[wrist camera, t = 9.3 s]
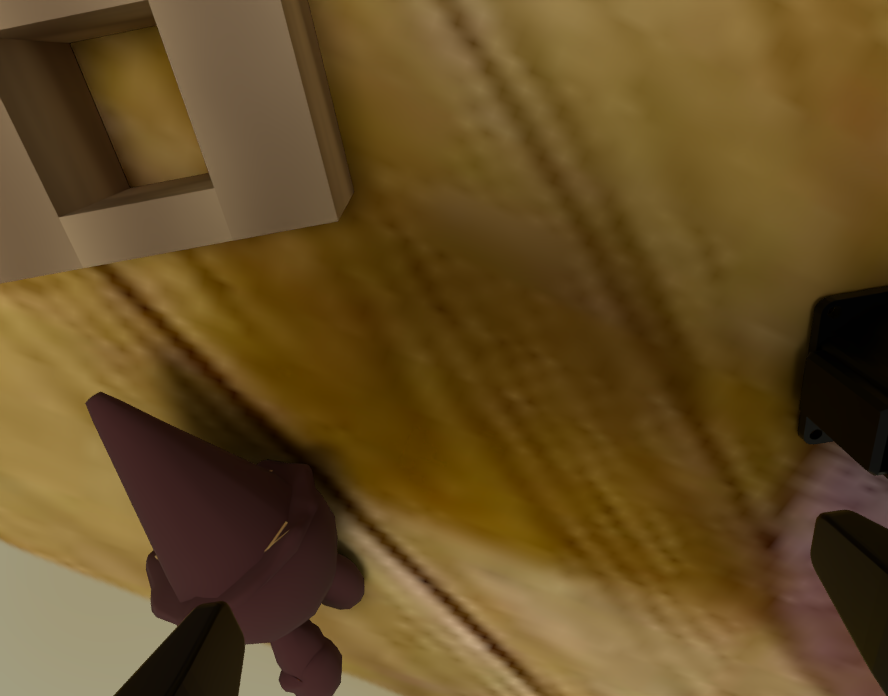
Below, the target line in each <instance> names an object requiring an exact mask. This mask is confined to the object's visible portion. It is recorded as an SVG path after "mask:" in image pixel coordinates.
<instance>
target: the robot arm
mask: <svg viewBox="0 0 888 696" xmlns="http://www.w3.org/2000/svg"><path fill="white" fill-rule="evenodd" d="M833 307H835V308H834V311H833V312H832V313H830V314H828V312H829V310H830V309H831V308H833ZM814 430H815V431H814ZM812 431H814V432H813V433H811V432H812ZM798 435H799V436H800V437H801V438H802V439H803V440H804V441H805V442H806V443H808V444H820V443H826V442H832V441H834V442H836V443H837V444H838V445H839V446H840V447H841V448H842V449H843V450H844V451H846V452H847V453H848V454H849V455H850V456H851V457H852V458H853V459H854V460H855V461H857V462H858V463H859V464H860V465H861V466H862V467H863V468H864V469H865V470H867V471H868V472H869V473H871V474H872V475H874V476H876V475H884V476H885V477H886V478H888V286H886V287H881V288H875V289H869V290H863V291H857V292H851V293H846V294H840V295H834V296H829V297H826V298H824V299H822V300H821V301H819V303H818V304H817V305H816V307H815V310H814V316H813V323H812V330H811V338H810V345H809V352H808V356H807V358H806V363H805V370H804V378H803V385H802V393H801V400H800V418H799V426H798ZM810 555H811V561H812V564H813V567H814V569H815V571H816V573H817V575H818V577H819V579H820V580H821V582H822V584H823V586H824V588H825V590H826V591H827V593H828V595H829V597H830V599H831V601H832V602H833V604H834V606H835V608H836V610H837V612H838V613H839V615H840V617H841V619H842V621H843V622H844V624H845V626H846V628H847V630H848V632H849V633H850V635H851V637H852V639H853V641H854V643H855V644H856V646H857V648H858V650H859V652H860V654H861V655H862V657H863V659H864V661H865V662H866V664H867V666H868V667H869V669H870V671H871V673H872V674H873V676H874V677H875V679H876V680H877V682H878V683H879V685H880V687H881V688H882V690H883V691H884V693H885V694H886V696H888V529H887V528H885V527H883V526H881V525H879V524H877V523H875V522H873V521H871V520H869V519H867V518H865V517H863V516H862V515H860V514H858V513H855V512H853V511H850V510H839V511H832V512H825V513H821V514H820V515H819V516H818V517H817V519H816V523H815V528H814V534H813V540H812V545H811V553H810ZM244 652H245V639H244V635H243V632H242V630H241V628H240V626H239V624H238V622H237V620H236V618H235V616H234V614H233V612H232V610H231V608H230V606H229V605H228V604H227V603H226V602H224V601H217V602H210V603H204V604H200V605H198V606H197V607H195V608H194V609H193V610H192V611H191V612H190V614H189V615H188V616H187V617H186V618H185V619H184V620H183V621H182V622H181V623H180V624H179V625H178V626H177V628H176V629H175V630H174V631H173V632H172V633H171V634H170V635H169V636H168V637H167V639H166V640H165V641H164V642H163V643H162V644H161V645H160V646H159V647H158V648H157V649H156V650H155V651H154V653H153V654H152V655H151V656H150V657H149V658H148V659H147V660H146V661H145V662H144V663H143V664H142V665H141V667H140V668H139V669H138V670H137V671H136V672H135V673H134V674H133V675H132V676H131V677H130V679H128V681H127V682H126V683H125V684H124V685H123V686H122V687H121V688H120V689H119V690H118V691H117V692H116V694H115V695H114V696H238V693H239V686H240V679H241V672H242V665H243V658H244Z"/></svg>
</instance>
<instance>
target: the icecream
mask: <svg viewBox="0 0 888 696" xmlns="http://www.w3.org/2000/svg"><path fill="white" fill-rule="evenodd" d="M86 406H87V408H88V411H89V413H90V416H91V418H92V421H93V423H94V425H95V427H96V429H97V431H98V433H99V435H100V438H101V440H102V442H103V444H104V446H105V448H106V450H107V452H108V454H109V457H110V459H111V461H112V463H113V465H114V467H115V469H116V471H117V473H118V476H119V478H120V480H121V482H122V484H123V486H124V488H125V490H126V492H127V495H128V497H129V499H130V501H131V503H132V505H133V507H134V509H135V512H136V514H137V516H138V518H139V520H140V522H141V524H142V526H143V528H144V531H145V533H146V535H147V537H148V539H149V541H150V543H151V545H152V548H153V551H152V552H151V553H150V554H149V555H148V557H147V561H146V572H147V575H148V579H149V583H150V587H151V608H152V612H153V613H154V615H155V616H156V617H158V618H160V619H163V620H165V621H168V622H171V623H173V624H176V625H177V626H178V625H179V624H180V623H181V622H182V621H183V620H184V619H185V618H186V617H187V616H188V615H189V614H190V612H191V611H192V610H193V609H194V608H195V607H197V606H198V605H200V604H204V603H210V602H217V601H224V602H226V603H227V604H228V605H229V606H230V608H231V610H232V612H233V614H234V616H235V618H236V620H237V622H238V624H239V626H240V628H241V630H242V632H243V635H244V639H245V645H246V644H257V643H269V642H270V643H271V646H272V649H273V652H274V655H275V658H276V661H277V663H278V665H279V666H280V668H281V669H282V671H281V673H280V677H279V682H280V684H281V687H282V688H283V689H284V690H285V691H286V692H292V693H294V694H295V695H296V696H332V695H333V694H334V693H335V691H336V689H337V688H338V686H339V685H340V683H341V673H342V655H341V653H340V652H339V650H338V648H337V647H336V646H335V645H334V644H333V642H332V641H331V640H329V639H328V638H326V637H324V635H323V634H322V632H321V630H320V628H319V627H318V626H317V625H315V624H313V623H312V622H311V621H310V620H309V619H310V618H311V617H312V616H313V615H315V613H316V612H317V610H318V608H319V606H320V605H321V603H322V604H323V605H326V606H329V607H333V608H336V609H340V610H341V609H350V608H352V607H353V606H355V605H356V604H357V603H358V602H360V601H361V599H362V597H363V595H364V577H363V576H362V574H361V573H360V571H359V570H358V568H357V567H356V565H355V564H354V563H353V562H352V561H350V560H349V559H348V558H347V557H345V556H343V555H341V554H339V553H337V539H338V537H337V530H336V523H335V516H334V514H333V513H332V511H331V509H330V508H329V506H328V505H327V503H326V501H325V500H324V498H323V496H322V495H321V494H320V492H319V491H318V490H317V489H316V488H315V483H314V477H313V472H312V470H311V468H310V466H309V465H307V464H302V463H285V462H280V461H274V460H269V459H267V460H263V461H261V462H259V463H258V464H257V465H256V464H253V463H251V462H249V461H247V460H245V459H243V458H241V457H238V456H236V455H234V454H232V453H230V452H228V451H226V450H223V449H221V448H219V447H217V446H215V445H213V444H211V443H208V442H206V441H204V440H202V439H200V438H198V437H195V436H193V435H191V434H189V433H187V432H185V431H183V430H180V429H178V428H176V427H174V426H172V425H170V424H168V423H165V422H163V421H161V420H159V419H157V418H155V417H153V416H151V415H149V414H147V413H145V412H143V411H141V410H139V409H137V408H135V407H133V406H131V405H129V404H127V403H125V402H123V401H121V400H119V399H116V398H114V397H112V396H109V395H107V394H105V393H103V392H99V393H97V394H95V395H94V396H92V397H91V398H90V399H89V400H88V401H87V402H86Z"/></svg>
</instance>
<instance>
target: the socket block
mask: <svg viewBox="0 0 888 696" xmlns="http://www.w3.org/2000/svg"><path fill="white" fill-rule="evenodd" d="M156 25H157V27H158V30H159V33H160V36H161V38H162V41H163V44H164V47H165V50H166V53H167V55H168V58H169V61H170V64H171V67H172V70H173V72H174V75H175V78H176V81H177V84H178V87H179V89H180V92H181V95H182V98H183V101H184V104H185V106H186V109H187V112H188V115H189V118H190V121H191V124H192V126H193V129H194V132H195V135H196V138H197V141H198V143H199V146H200V149H201V152H202V155H203V158H204V160H205V163H206V166H207V169H208V172H209V173H207V174H202V175H197V176H191V177H186V178H181V179H176V180H170V181H165V182H160V183H155V184H149V185H144V186H139V187H134V188H130V187H129V185H128V182H127V180H126V178H125V175H124V173H123V171H122V168H121V166H120V163H119V161H118V159H117V156H116V154H115V152H114V149H113V147H112V144H111V142H110V140H109V137H108V135H107V132H106V130H105V128H104V125H103V123H102V121H101V118H100V116H99V113H98V111H97V109H96V106H95V104H94V101H93V99H92V97H91V94H90V92H89V90H88V87H87V85H86V82H85V80H84V78H83V75H82V73H81V70H80V68H79V66H78V63H77V61H76V59H75V56H74V54H73V51H72V49H71V47H70V44H69V43H72V42H77V41H82V40H87V39H92V38H97V37H102V36H107V35H111V34H116V33H121V32H126V31H131V30H136V29H141V28H146V27H151V26H156ZM353 193H354V189H353V185H352V181H351V177H350V173H349V168H348V164H347V160H346V156H345V152H344V148H343V144H342V139H341V135H340V131H339V127H338V123H337V119H336V115H335V111H334V106H333V102H332V98H331V94H330V90H329V86H328V82H327V78H326V73H325V69H324V65H323V61H322V57H321V53H320V49H319V45H318V40H317V36H316V32H315V28H314V24H313V20H312V16H311V12H310V7H309V3H308V0H0V283H5V282H11V281H16V280H22V279H27V278H33V277H38V276H43V275H49V274H54V273H60V272H65V271H71V270H76V269H81V268H87V267H92V266H98V265H103V264H109V263H114V262H119V261H125V260H130V259H136V258H141V257H147V256H152V255H157V254H163V253H168V252H174V251H179V250H185V249H190V248H195V247H201V246H206V245H212V244H217V243H223V242H228V241H233V240H239V239H244V238H250V237H255V236H261V235H266V234H272V233H277V232H282V231H288V230H293V229H299V228H304V227H310V226H315V225H320V224H326V223H331V222H337V221H339V219H340V217H341V215H342V213H343V211H344V209H345V208H346V206H347V204H348V202H349V200H350V198H351V197H352V195H353Z"/></svg>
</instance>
